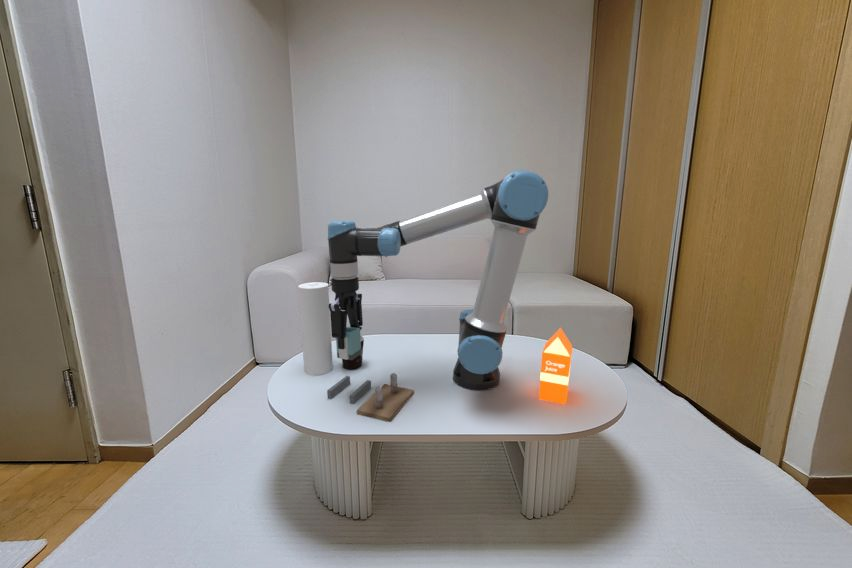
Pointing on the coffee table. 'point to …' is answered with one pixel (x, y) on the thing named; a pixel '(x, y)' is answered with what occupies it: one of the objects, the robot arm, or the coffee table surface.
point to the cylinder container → (315, 327)
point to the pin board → (386, 401)
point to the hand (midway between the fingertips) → (349, 354)
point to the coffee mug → (355, 362)
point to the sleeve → (352, 342)
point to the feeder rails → (344, 383)
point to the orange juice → (555, 368)
